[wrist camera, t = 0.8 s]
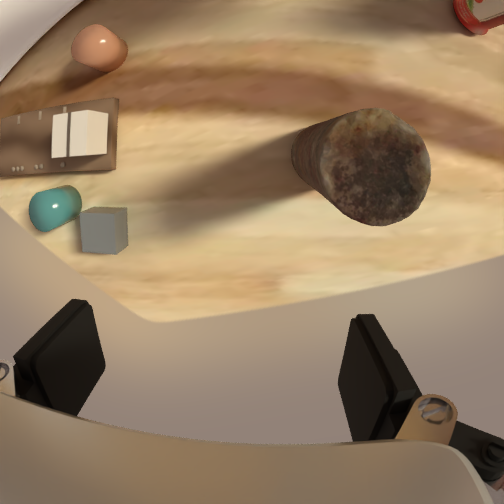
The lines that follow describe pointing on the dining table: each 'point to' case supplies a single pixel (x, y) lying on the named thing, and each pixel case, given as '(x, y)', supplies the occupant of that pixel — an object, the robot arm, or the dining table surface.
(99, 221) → the slate box
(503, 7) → the liquor
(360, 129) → the candle
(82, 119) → the slider
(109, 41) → the peach domed cylinder
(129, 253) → the dining table surface
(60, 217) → the teal rounded cylinder
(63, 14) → the plate
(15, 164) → the rail
